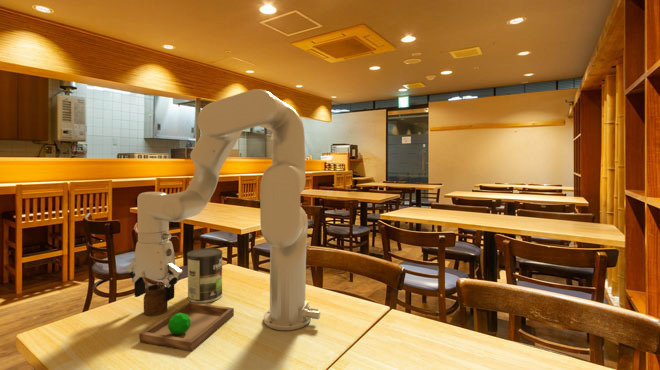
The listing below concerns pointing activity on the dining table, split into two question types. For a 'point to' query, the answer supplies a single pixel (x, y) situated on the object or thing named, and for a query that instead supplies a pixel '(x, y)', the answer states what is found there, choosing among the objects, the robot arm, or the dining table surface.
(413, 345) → the dining table surface
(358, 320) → the dining table surface
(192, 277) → the coffee can
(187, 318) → the polyhedron
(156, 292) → the utensil holder
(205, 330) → the tray
